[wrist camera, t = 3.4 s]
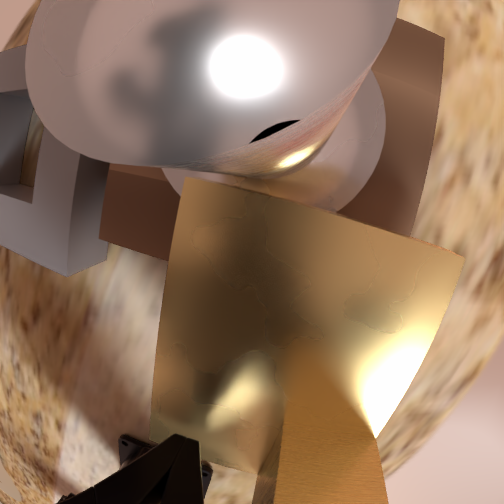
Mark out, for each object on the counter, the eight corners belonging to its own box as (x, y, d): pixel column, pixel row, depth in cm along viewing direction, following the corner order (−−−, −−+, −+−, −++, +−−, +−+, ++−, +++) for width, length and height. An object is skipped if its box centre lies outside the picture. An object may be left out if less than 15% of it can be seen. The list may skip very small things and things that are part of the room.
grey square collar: (106, 259, 14) (66, 277, 11) (-4, 216, 14) (-38, 223, 12) (151, 52, 11) (118, 27, 8) (24, 64, 12) (-8, 55, 9)
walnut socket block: (362, 290, 12) (379, 320, 9) (137, 227, 13) (98, 238, 10) (417, 65, 10) (444, 38, 7) (192, 17, 10) (168, -15, 8)
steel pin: (335, 236, 12) (437, 417, 2) (182, 195, 12) (-52, 239, 3) (372, 84, 10) (492, -89, 1) (219, 52, 11) (80, -110, 1)
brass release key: (335, 468, 9) (336, 600, 3) (159, 423, 10) (86, 542, 4) (448, 250, 7) (613, 350, 1) (198, 177, 8) (-3, 177, 2)
